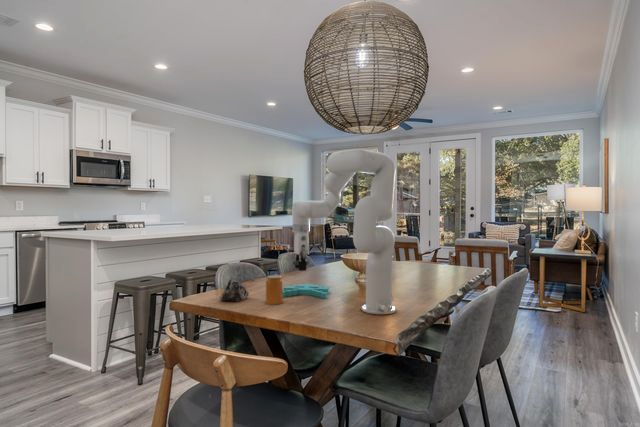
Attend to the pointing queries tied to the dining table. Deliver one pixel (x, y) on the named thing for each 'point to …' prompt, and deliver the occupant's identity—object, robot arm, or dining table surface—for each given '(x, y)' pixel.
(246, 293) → the rock
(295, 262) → the lid
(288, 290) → the alien figure
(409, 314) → the dining table surface
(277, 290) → the jar
